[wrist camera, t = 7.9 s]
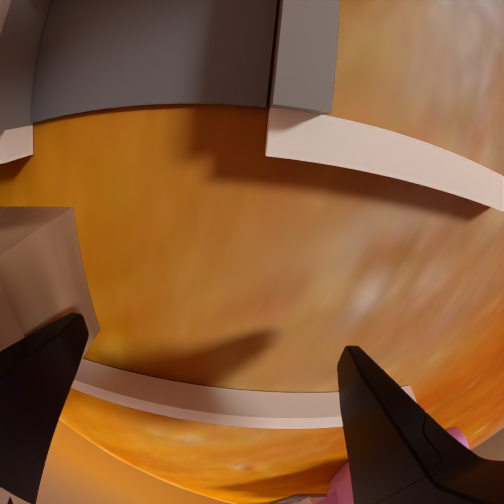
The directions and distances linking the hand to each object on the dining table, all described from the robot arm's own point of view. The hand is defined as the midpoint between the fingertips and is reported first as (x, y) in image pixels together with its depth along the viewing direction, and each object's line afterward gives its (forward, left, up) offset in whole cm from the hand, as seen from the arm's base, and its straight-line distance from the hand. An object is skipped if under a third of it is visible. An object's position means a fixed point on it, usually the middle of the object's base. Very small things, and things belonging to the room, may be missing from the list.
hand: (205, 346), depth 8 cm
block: (+10, 0, -2) cm, 10 cm away
